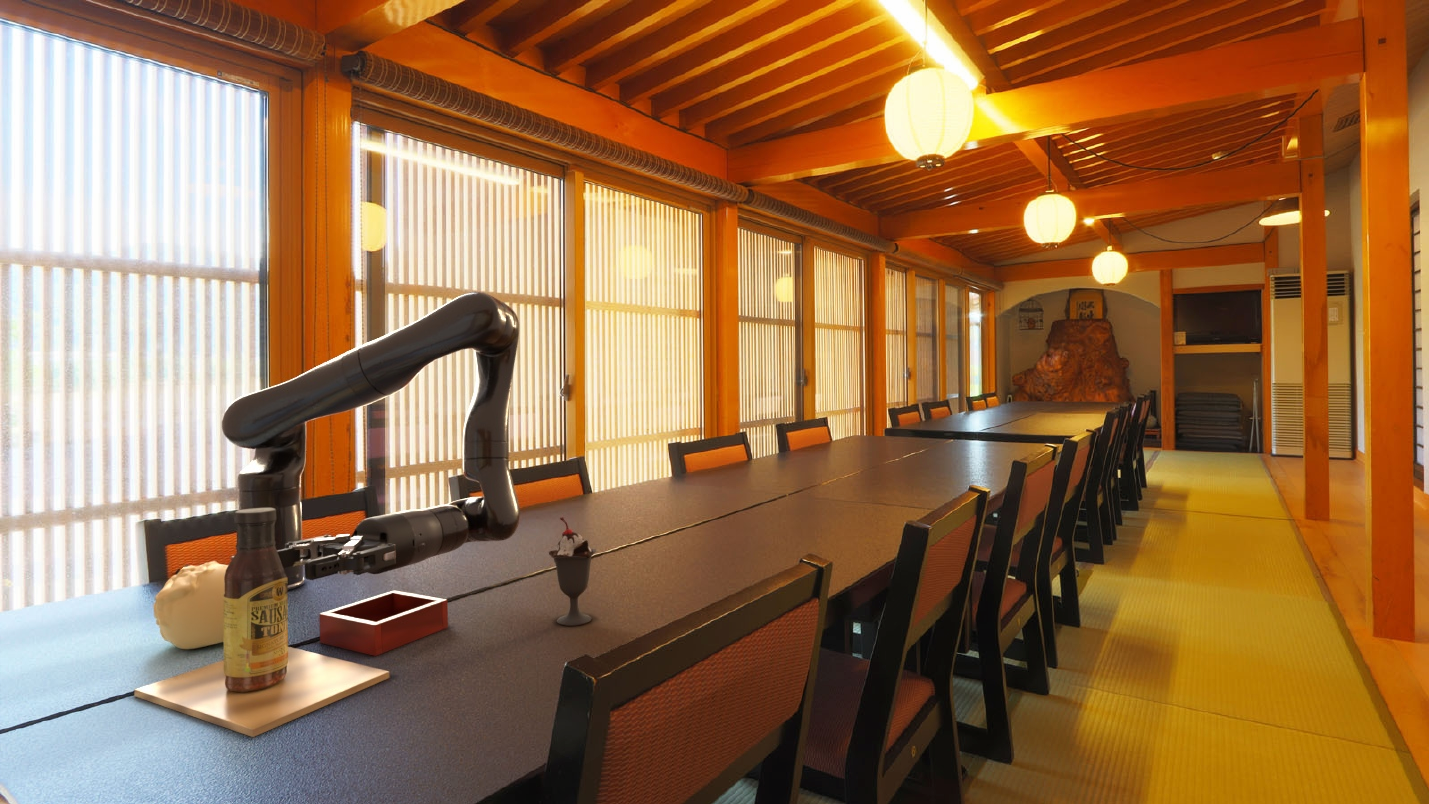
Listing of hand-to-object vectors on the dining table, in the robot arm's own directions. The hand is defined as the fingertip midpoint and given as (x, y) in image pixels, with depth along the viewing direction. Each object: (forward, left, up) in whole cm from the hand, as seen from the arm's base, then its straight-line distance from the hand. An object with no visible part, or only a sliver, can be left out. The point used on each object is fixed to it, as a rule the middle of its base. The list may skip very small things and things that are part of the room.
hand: (283, 567), depth 87 cm
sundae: (+18, +31, -13) cm, 39 cm away
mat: (0, -3, -13) cm, 14 cm away
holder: (-2, +15, -13) cm, 20 cm away
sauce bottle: (0, -4, -13) cm, 13 cm away
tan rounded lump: (-22, +3, -13) cm, 26 cm away
